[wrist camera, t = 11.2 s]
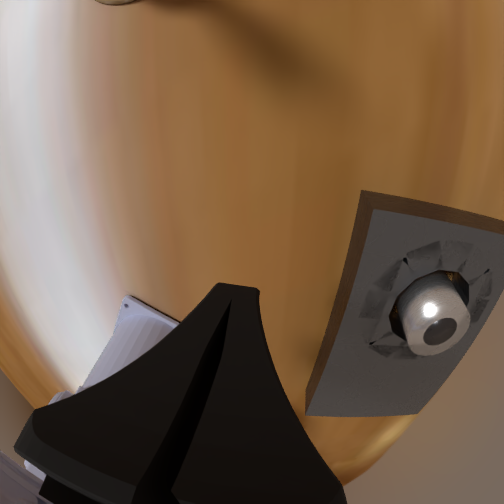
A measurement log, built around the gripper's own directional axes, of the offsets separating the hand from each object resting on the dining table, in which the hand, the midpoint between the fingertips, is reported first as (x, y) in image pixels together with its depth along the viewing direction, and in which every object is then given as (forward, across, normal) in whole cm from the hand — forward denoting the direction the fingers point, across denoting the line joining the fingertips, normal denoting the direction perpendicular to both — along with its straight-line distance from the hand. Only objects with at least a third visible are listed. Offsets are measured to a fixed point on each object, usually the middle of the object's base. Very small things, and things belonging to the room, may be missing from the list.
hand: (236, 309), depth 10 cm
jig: (+9, -12, +8) cm, 17 cm away
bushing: (+9, -12, +4) cm, 16 cm away
